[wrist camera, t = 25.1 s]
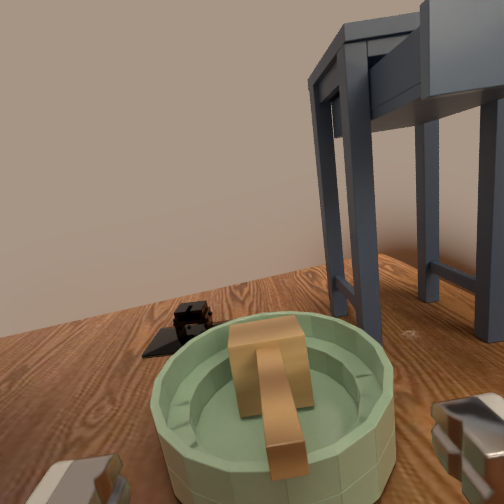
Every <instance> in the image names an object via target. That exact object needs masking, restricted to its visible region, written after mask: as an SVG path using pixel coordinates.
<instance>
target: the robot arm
mask: <svg viewBox="0 0 504 504" xmlns="http://www.w3.org/2000/svg"><path fill="white" fill-rule="evenodd" d="M431 416H432V418H433V419H434V420H435V421H436V422H437V423H436V424H435V426H434V427H433V428H432V430H431V435H432V443H433V446H434V449H435V452H436V455H437V457H438V459H439V460H440V462H441V464H442V466H443V467H444V468H445V470H446V471H447V473H448V474H449V475H451V476H453V477H454V478H456V479H457V480H459V481H461V482H462V493H463V495H464V496H465V497H466V499H467V500H468V502H469V503H470V504H504V399H503V398H502V397H501V396H499V395H497V394H495V393H492V392H491V393H485V394H480V395H474V396H471V397H470V396H469V397H463V398H457V399H451V400H445V401H439V402H433V404H432V406H431ZM122 466H123V464H122V461H121V459H120V456H119V454H108V455H100V456H93V457H85V458H77V459H74V460H66V461H58V462H56V463H55V464H53V465H52V466H51V467H50V468H49V470H48V471H47V473H46V474H45V475H44V477H43V478H42V480H41V481H40V483H39V484H38V486H37V487H36V489H35V490H34V492H33V493H32V495H31V496H30V498H29V499H28V500H27V502H26V503H25V504H129V502H130V488H129V484H128V480H127V479H126V478H125V477H124V476H122V475H121V474H120V471H121V468H122Z"/></svg>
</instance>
